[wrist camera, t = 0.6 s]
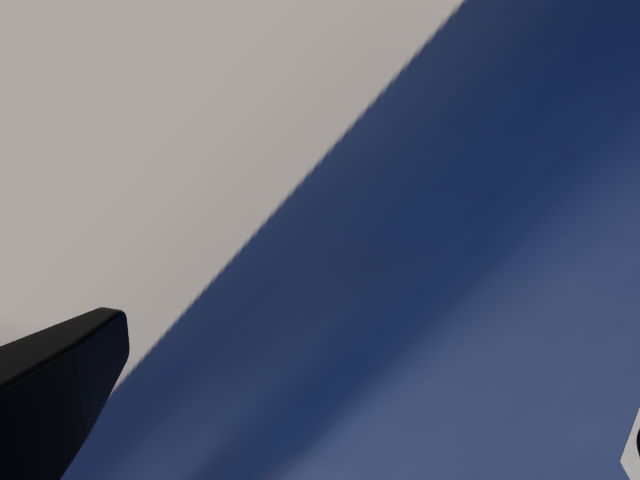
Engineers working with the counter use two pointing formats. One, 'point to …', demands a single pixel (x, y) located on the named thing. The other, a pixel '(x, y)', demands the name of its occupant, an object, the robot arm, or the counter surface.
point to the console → (632, 452)
